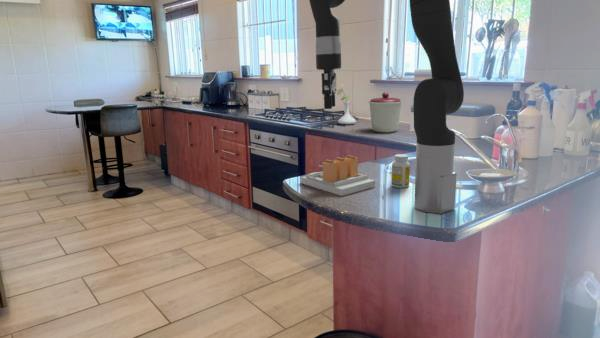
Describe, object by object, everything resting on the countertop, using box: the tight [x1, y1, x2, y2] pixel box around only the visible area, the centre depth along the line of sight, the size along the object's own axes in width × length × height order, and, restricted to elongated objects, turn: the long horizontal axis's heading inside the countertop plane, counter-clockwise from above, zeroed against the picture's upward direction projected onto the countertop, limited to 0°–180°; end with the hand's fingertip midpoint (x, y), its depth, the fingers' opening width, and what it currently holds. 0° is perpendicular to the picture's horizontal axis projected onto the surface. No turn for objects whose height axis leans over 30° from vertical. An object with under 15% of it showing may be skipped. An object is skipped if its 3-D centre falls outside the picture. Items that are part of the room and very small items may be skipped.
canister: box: [368, 92, 403, 134], centre depth 234 cm, size 18×18×21 cm
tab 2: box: [333, 156, 347, 180], centre depth 134 cm, size 3×3×7 cm
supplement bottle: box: [390, 153, 411, 189], centre depth 132 cm, size 5×5×10 cm
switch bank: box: [300, 170, 376, 197], centre depth 136 cm, size 19×14×3 cm
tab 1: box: [321, 158, 337, 183], centre depth 131 cm, size 3×3×7 cm
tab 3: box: [343, 154, 359, 177], centre depth 137 cm, size 3×3×7 cm
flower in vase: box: [336, 83, 357, 126], centre depth 265 cm, size 13×11×25 cm
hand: (330, 107), depth 132 cm, fingers open, 8 cm apart
